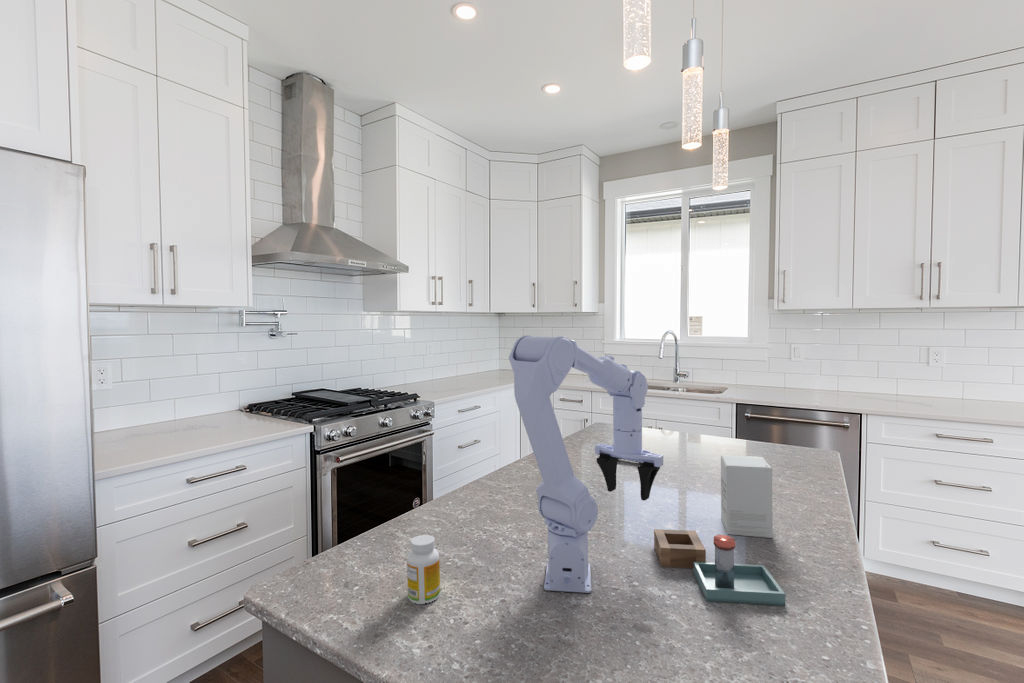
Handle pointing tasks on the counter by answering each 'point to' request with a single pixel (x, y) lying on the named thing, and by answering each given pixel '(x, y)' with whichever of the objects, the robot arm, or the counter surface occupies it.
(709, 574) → the tray
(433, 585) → the supplement bottle
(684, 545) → the bore block
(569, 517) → the robot arm
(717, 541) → the red capped cylinder
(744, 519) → the supplement box
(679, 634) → the counter surface
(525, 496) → the counter surface
